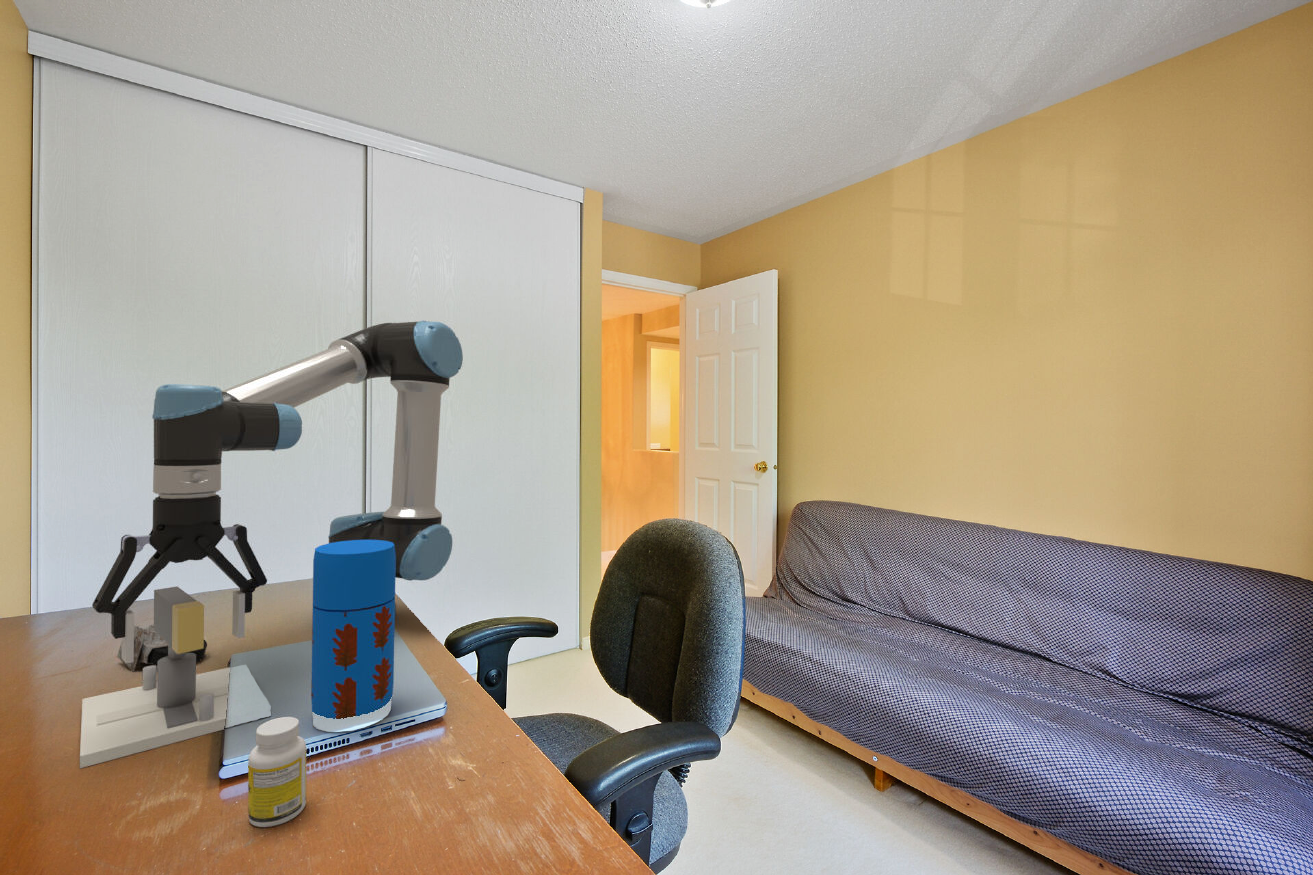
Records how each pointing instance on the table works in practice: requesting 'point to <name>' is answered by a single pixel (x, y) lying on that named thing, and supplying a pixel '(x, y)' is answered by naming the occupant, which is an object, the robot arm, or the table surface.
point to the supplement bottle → (277, 773)
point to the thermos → (353, 627)
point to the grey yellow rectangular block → (178, 621)
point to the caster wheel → (152, 647)
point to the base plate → (154, 711)
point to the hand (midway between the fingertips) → (186, 647)
